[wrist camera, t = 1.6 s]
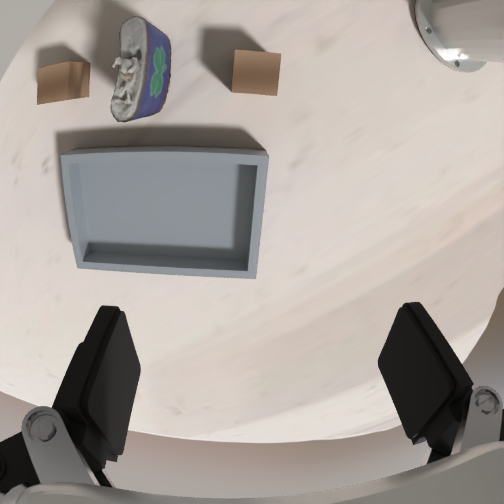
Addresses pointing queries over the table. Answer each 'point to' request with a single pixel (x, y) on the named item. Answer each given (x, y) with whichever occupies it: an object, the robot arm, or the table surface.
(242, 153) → the tray
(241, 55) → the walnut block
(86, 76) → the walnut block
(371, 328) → the table surface
